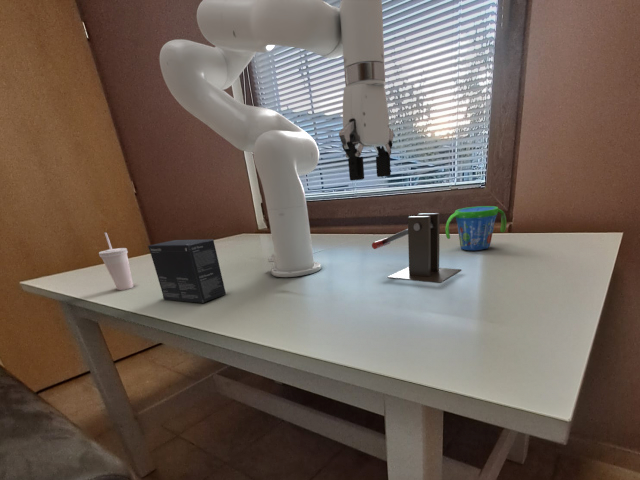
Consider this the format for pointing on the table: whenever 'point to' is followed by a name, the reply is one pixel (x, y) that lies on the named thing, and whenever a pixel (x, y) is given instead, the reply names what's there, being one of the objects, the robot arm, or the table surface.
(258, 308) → the table surface
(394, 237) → the tap lever
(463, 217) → the snack cup
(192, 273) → the small box
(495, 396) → the table surface
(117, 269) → the smoothie
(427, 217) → the bracket
